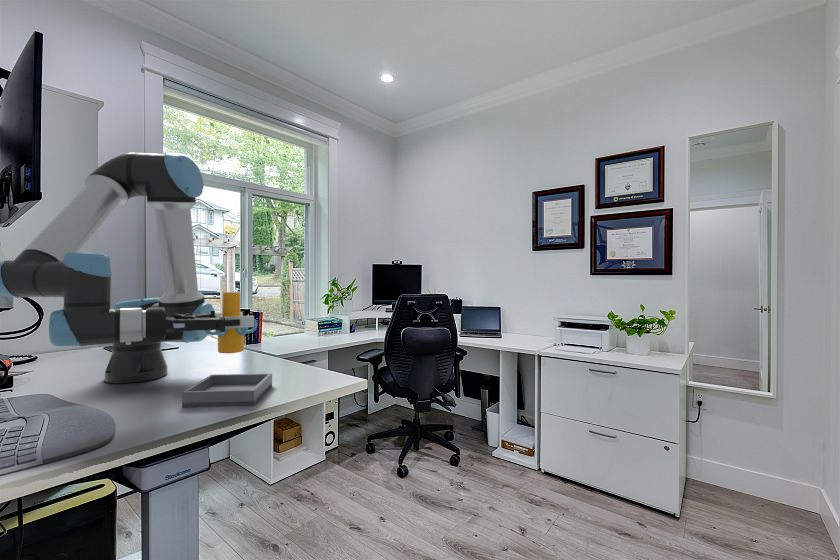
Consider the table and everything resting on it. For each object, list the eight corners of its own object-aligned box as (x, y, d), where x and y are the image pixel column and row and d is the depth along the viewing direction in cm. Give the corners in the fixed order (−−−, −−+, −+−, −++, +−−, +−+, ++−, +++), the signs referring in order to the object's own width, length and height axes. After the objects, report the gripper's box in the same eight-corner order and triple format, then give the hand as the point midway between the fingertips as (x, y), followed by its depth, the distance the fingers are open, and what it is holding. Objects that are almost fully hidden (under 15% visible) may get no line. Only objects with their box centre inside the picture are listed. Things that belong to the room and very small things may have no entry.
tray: (211, 387, 105) (211, 374, 105) (272, 386, 107) (272, 373, 107) (182, 407, 90) (182, 392, 90) (254, 405, 91) (254, 390, 91)
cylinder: (255, 346, 106) (255, 291, 106) (259, 353, 96) (259, 292, 96) (203, 349, 100) (204, 291, 100) (203, 357, 91) (203, 293, 91)
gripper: (142, 334, 97) (237, 328, 110) (145, 348, 78) (259, 339, 91) (143, 304, 97) (237, 302, 110) (146, 311, 78) (260, 307, 91)
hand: (247, 319), depth 100 cm, fingers closed on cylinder, 11 cm apart
